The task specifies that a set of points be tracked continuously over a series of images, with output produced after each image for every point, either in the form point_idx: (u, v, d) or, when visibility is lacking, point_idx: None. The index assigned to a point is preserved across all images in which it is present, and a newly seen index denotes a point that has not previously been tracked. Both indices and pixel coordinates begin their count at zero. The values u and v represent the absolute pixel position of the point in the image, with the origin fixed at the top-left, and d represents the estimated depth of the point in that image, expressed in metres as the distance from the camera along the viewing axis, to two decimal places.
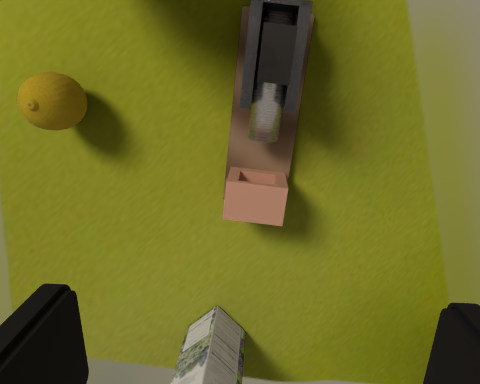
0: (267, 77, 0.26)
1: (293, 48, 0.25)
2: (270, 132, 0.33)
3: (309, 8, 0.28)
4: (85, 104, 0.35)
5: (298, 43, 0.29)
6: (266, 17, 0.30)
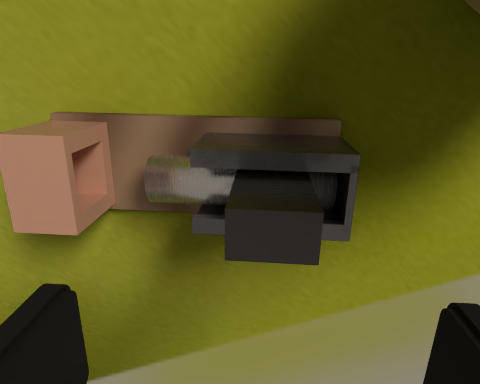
0: (233, 226, 0.15)
1: (283, 261, 0.15)
2: (160, 194, 0.21)
3: (340, 238, 0.20)
4: None
5: None
6: (327, 172, 0.20)
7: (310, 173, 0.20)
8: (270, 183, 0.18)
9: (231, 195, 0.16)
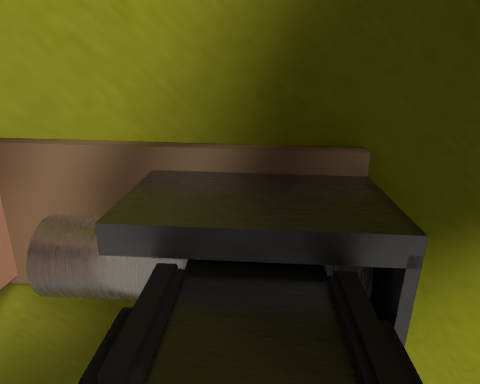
0: None
1: None
2: (59, 290, 0.12)
3: None
4: None
5: None
6: None
7: None
8: (249, 301, 0.09)
9: (154, 362, 0.07)
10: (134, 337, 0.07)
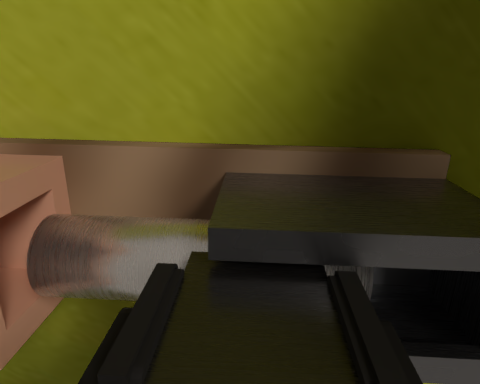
0: None
1: None
2: (59, 290, 0.12)
3: None
4: None
5: None
6: None
7: None
8: (250, 301, 0.09)
9: (155, 362, 0.07)
10: (134, 337, 0.07)
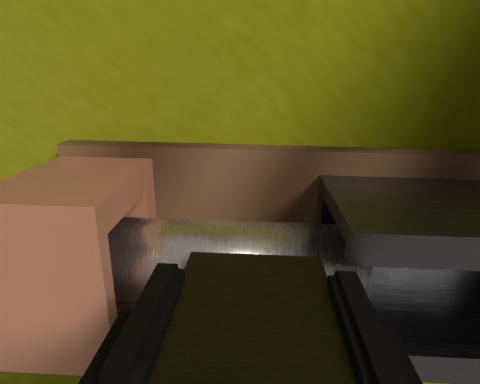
0: None
1: None
2: None
3: None
4: None
5: None
6: None
7: (323, 255, 0.11)
8: (249, 301, 0.09)
9: (155, 363, 0.07)
10: (134, 337, 0.07)
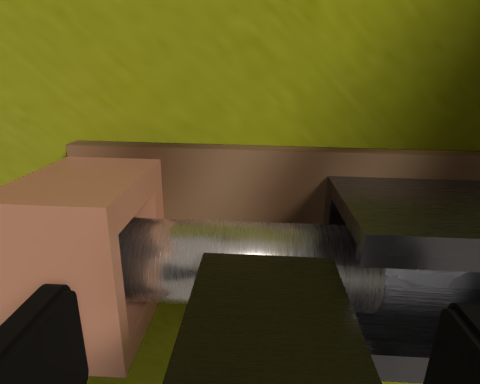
0: None
1: None
2: None
3: None
4: None
5: None
6: None
7: (336, 257, 0.11)
8: (265, 303, 0.09)
9: (174, 364, 0.07)
10: None
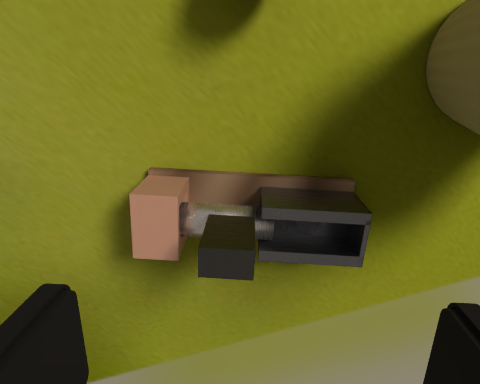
0: (203, 257, 0.25)
1: (232, 278, 0.25)
2: None
3: (356, 265, 0.30)
4: None
5: (325, 258, 0.30)
6: None
7: (257, 217, 0.31)
8: (228, 227, 0.28)
9: (203, 237, 0.26)
10: None
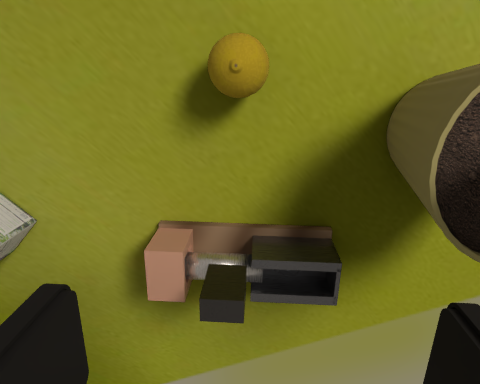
0: (203, 306, 0.31)
1: (227, 321, 0.32)
2: None
3: (331, 303, 0.36)
4: None
5: (305, 298, 0.37)
6: None
7: (248, 265, 0.37)
8: (224, 277, 0.35)
9: (203, 288, 0.33)
10: None
